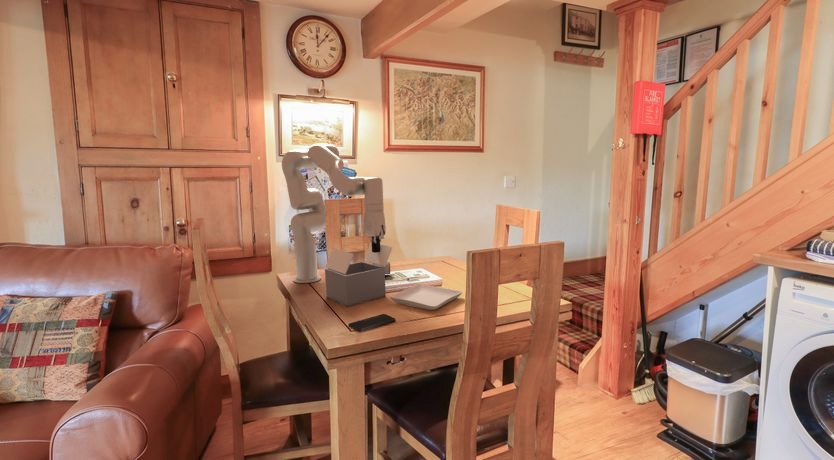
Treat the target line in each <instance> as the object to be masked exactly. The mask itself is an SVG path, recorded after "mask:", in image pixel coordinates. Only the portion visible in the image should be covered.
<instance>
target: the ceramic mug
mask: <svg viewBox="0 0 834 460" xmlns="http://www.w3.org/2000/svg"><path fill="white" fill-rule="evenodd" d="M372 264H373V265H377V266H380V267H384V268H385V274H390V275H391V263H390V261H387V263H386V266H382V265H378V264H375V263H372Z"/></svg>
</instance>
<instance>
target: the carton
mask: <svg viewBox="0 0 834 460" xmlns="http://www.w3.org/2000/svg"><path fill="white" fill-rule="evenodd" d="M324 276H325V277H324V278H325V293H326V299H329V300H331V301H333V302H335V303H338V304H340V305H341V306H345V307H346V308H348V307H353V306H356V305H360V304H363V303H366V302H370V301H374V300H379V299H382V298H385V297H386V296H387V295H386V277H385V268H384V267H380V266H377V265H373V263H371V262H367V261H364V260H363V261H358V262H354V263H353V262H352V263H350V265H349V267H348V270H347V272H346V274H343V273H340V272H337V271H334V270H331V269H329V268H324Z"/></svg>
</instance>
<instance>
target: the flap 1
mask: <svg viewBox="0 0 834 460" xmlns="http://www.w3.org/2000/svg"><path fill="white" fill-rule="evenodd" d="M353 257H354V253H352V252H348V251H345V250H341V249H337V248H332V250H331V252H330V255H329V257H328V259H327V261H326V264H325V266H324V267H325V269H327V268H329V269H331V270H334V271H337V272H340V273H343V274H346V272H347V270H348V267H349V265H350V264H351V262H352V259H353Z"/></svg>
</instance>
